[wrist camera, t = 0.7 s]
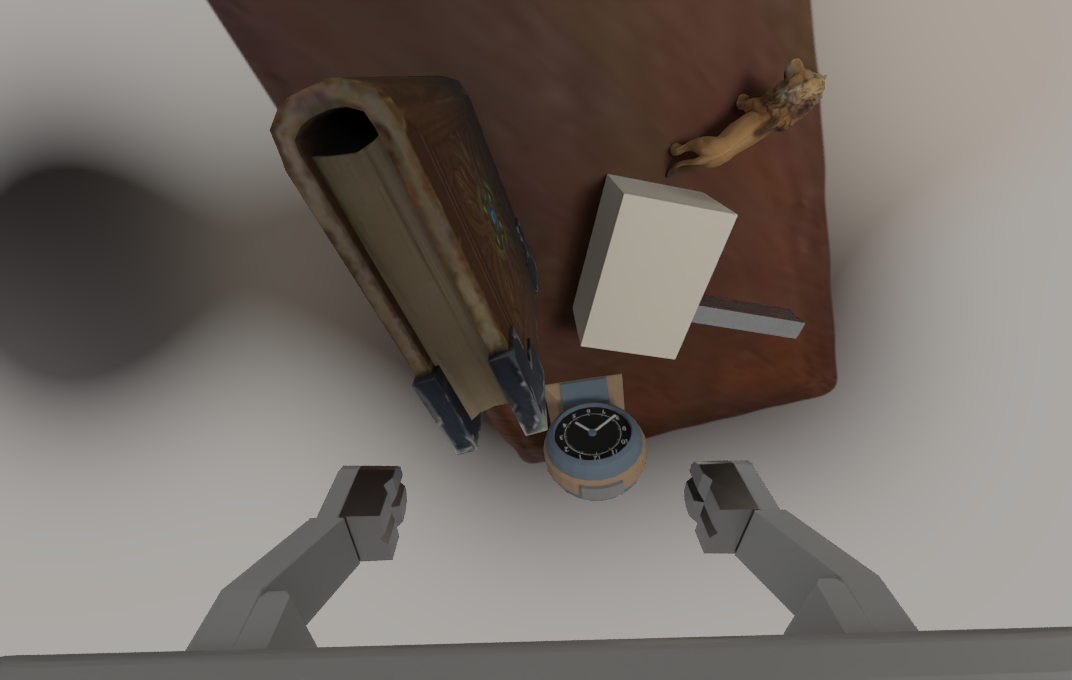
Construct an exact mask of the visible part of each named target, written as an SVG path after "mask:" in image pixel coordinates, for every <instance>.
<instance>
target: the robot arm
mask: <svg viewBox="0 0 1072 680" xmlns="http://www.w3.org/2000/svg"><path fill="white" fill-rule="evenodd" d="M690 473H691V476H692V478H691V479H689V480H688V481H687V482H686V486H685V490H684V494H685V496H684V497H685V504H686V508H687V511H688V513H689V516H690V517H691V518H692V519H694V520H695V521H696V522H697V526H696V529H695V532H696V534H697V537H698V539H699V542H700V544H701V547H702V549H703V552H704V553H736V554H735V556H737V558H739V560H741V562H743V564H744V565H745V566H747V568H748V569H749V570H750V571H751V572H752V573H753V574H754V575H755V576H756V577H757V578H758V579H759V580H760V581H761V582H762V583H763V584H764V585H765V586H766V587H767V588H768V589H769V590H770V591H771V592H772V593H773V594H774V595H775V596H776V597H777V598H778V599H779V600H780V601H781V602H782V603H783V604H784V605H785V606H786V607H787V608H788V609H789V610H790V611H791V612H792V613H793V614H794V615H795V616H794V618H793V619H792V621H791V623H790V624H789V626H788V627H787V629H786V631H785V633H784V635H761V636H760V635H759V636H758V635H757V636H723V637H722V636H721V637H684V638H648V639H647V638H646V639H612V640H611V639H608V640H572V641H538V642H537V641H536V642H503V643H465V644H432V645H431V644H430V645H429V644H428V645H394V646H356V647H320V648H317V646H316V644H315V642H314V640H313V638H312V636H311V634H310V632H309V631H308V629H307V627H306V625H307V624H308V623H309V621H310V620H311V619H312V618H313V617H314V616H315V615H316V613H317V612H318V611H319V610H320V609H321V608H322V606H323V605H324V604H325V603H326V602H327V601H328V600H329V598H330V597H331V596H332V595H333V594H334V593H335V591H336V590H337V589H338V588H339V587H340V586H341V585H342V583H343V582H344V581H345V580H346V579H347V578H348V576H349V575H350V574H351V573H352V572H353V571H354V570H355V568H356V567H357V566H358V565H359V564H360V562H359V561H377V560H392V559H393V556H394V552H395V549H396V545H397V541H398V538H399V534H398V530H397V526H399V525H400V523H402V522H403V519H404V515H405V510H406V502H407V498H406V488H405V486H404V485H403V484H402V483H401V479H402V471H401V467H399V466H343V467H342V468H341V469H340V470H339V471H338V473H337V476H336V478H335V480H334V482H333V484H332V486H331V488H330V490H329V492H328V495H327V497H326V499H325V501H324V503H323V505H322V507H321V509H320V512H319V514H318V516H317V518H310V519H309V520H308V521H307V522H305V523H304V524H303V525H302V526H301V527H299V528H298V529H297V530H296V531H294V532H293V533H292V534H291V535H289V536H288V537H287V538H286V539H284V540H283V541H282V542H281V543H279V544H278V545H277V546H276V547H275V548H273V549H272V550H271V551H270V552H268V553H267V554H266V555H265V556H263V557H262V558H261V559H260V560H259V561H257V562H256V563H255V564H253V565H252V566H251V567H250V568H249V569H247V570H246V571H245V572H244V573H242V574H241V575H240V576H239V577H237V578H236V579H235V580H234V581H232V582H231V583H230V584H229V585H227V586H226V587H225V588H224V589H223V590H221V592H220V594H219V595H218V597H217V599H216V600H215V602H214V604H213V605H212V607H211V609H210V611H209V612H208V614H207V615H206V617H205V619H204V620H203V622H202V624H201V626H200V627H199V629H198V631H197V632H196V634H195V636H194V637H193V639H192V641H191V643H190V644H189V646H188V647H187V649H186V651H174V652H173V651H172V652H137V653H136V652H134V653H97V654H57V655H16V656H3V657H0V680H1072V627H1049V628H1048V627H1047V628H1046V627H1045V628H1010V629H973V630H938V631H918V629H917V628H916V627H915V626H914V624H913V622H912V621H911V620H910V618H909V617H908V616H907V614H906V613H905V611H904V610H903V609H902V607H901V606H900V605H899V603H898V602H897V600H896V599H895V598H894V596H893V595H892V593H891V592H890V591H889V589H888V588H887V587H886V585H885V584H884V582H883V581H882V580H881V578H880V577H879V576H878V575H877V574H875V573H874V572H872V571H871V570H870V569H868V568H867V567H865V566H864V565H863V564H861V563H860V562H858V561H857V560H856V559H854V558H853V557H851V556H850V555H848V554H847V553H846V552H844V551H843V550H842V549H840V548H839V547H837V546H836V545H834V544H833V543H832V542H830V541H829V540H827V539H826V538H825V537H823V536H822V535H820V534H819V533H818V532H816V531H815V530H813V529H812V528H811V527H809V526H808V525H806V524H805V523H803V522H802V521H801V520H799V519H798V518H796V517H795V516H794V515H792V514H791V513H789V512H788V511H786V510H780V509H779V507H778V505H777V504H776V502H775V501H774V499H773V497H772V496H771V494H770V492H769V491H768V489H767V488H766V486H765V484H764V483H763V481H762V480H761V478H760V476H759V475H758V473H757V471H756V470H755V468H754V467H753V465H752V463H750V462H749V461H697V462H693V464H692V465H691V468H690Z"/></svg>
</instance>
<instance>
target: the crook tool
mask: <svg viewBox="0 0 1072 680" xmlns="http://www.w3.org/2000/svg"><path fill="white" fill-rule="evenodd" d="M692 322H694V323H701V324H707V325H713V326H719V327H726V328H732V329H738V330H745V331H751V332H757V333H764V334H770V335H776V336H782V337H789V338H795V339H796V338H797V336H798V335H799V333H800V331H801V330H802V328H803V326H804V325H805V322H804V321H803V320H801V319H800V318H799V317H798V316H797V315H796V314H795V313H793V312H792V311H791V310H790V309H787V308H781V307H775V306H769V305H763V304H757V303H751V302H745V301H739V300H733V299H727V298H721V297H715V296H709V295H703V296H702V299H701V301H700V303H699V306H698V308H697V310H696V313H695V315H694V317H693V319H692Z"/></svg>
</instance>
